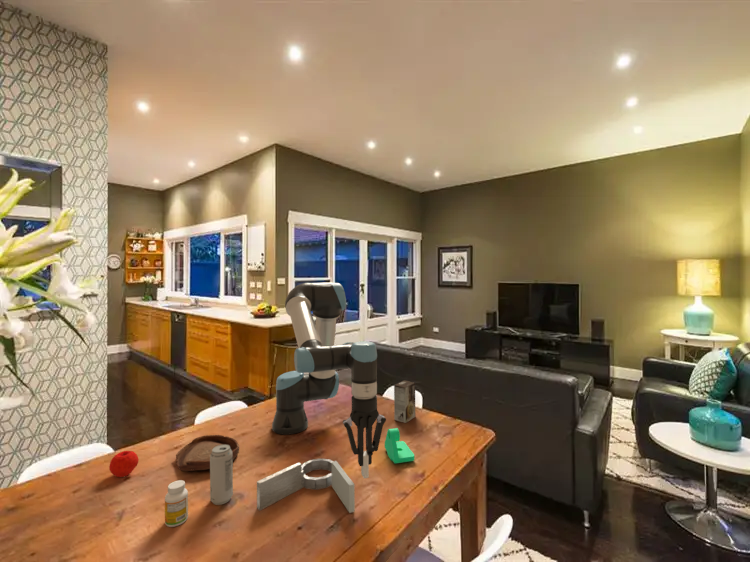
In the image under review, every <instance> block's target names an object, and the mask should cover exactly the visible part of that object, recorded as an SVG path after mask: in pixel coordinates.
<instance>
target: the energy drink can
mask: <svg viewBox="0 0 750 562" xmlns="http://www.w3.org/2000/svg"><path fill="white" fill-rule="evenodd" d="M233 461H234V460H233V455H232V450H231V449H230V446H229V445H226V444H224V445H218V446H216V447H214V448H213V449H212V453H211V455H210V469H209V479H210V480H209V481H210V482H209V486H210V487H209V489H210V490H209V499H210V502H212V504H213V505H216V506H221V505H225V504H226V503H228V502H230V501H231V498H232V497H233V495H234V492H233V491H234V489H233V488H234V486H233V484H234V479H233V475H234V474H233V473H234V472H233V468H234V467H233Z"/></svg>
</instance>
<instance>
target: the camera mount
mask: <svg viewBox="0 0 750 562" xmlns="http://www.w3.org/2000/svg"><path fill="white" fill-rule="evenodd" d="M400 439H401V434H400V430H399V428H398V427H395V428H388V429H387V431H386V435H385V439H384V448H385V451H386V452H387V454H386V455H387V456H388V458H389V459H390V461H391V462H393V464H401V463H407V462H414V461H415V460H416V459H415V453H414V452H413V451H412V450H411V449H410V447H409V446H408V445H407V443H406V442H405V441H403V440H400Z"/></svg>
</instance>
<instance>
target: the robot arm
mask: <svg viewBox="0 0 750 562" xmlns="http://www.w3.org/2000/svg"><path fill="white" fill-rule="evenodd" d="M346 307H347V298H346V292H345V289H344V287H343V285H342V284H341V283H339V282H303V283H300V284H298V285H296V286H294V287H293V288H292V289H291V290H290V291H289V293H288V294H287V296H286V298H285V301H284V308H285V313H287V315H288V316H289V317H290V319H291V320H290V321H291V324H292V328H293V332H294V336H295V339H296V343H297V348H296V349H295V350H294V354H293V356H294V357H293V361H294V370H291V371H287V372H284V373H282V374H280V375H279V376H277V378H276V381H275V384H276V385H275V390H276V394H275V399H276V401H275V403H276V405H275V406H276V408H275V409H276V411H275V414H274V417H273V420H272V425H271V430H272V432H273V433H275V434H277V435H294V434H298V433H301V432H303V431H306V429H307V428H308V426H309V420H308V417H307V414H306V411H305V406H304V405H305V402H312V401H313V402H314V401H321V400H328V399H332V398H335V397H336V396H337V394H338V391H339V388H340V382H339V381H340V378H339V373H338V372H337V371H336V370H346V369H348V370H349V369H350V370H351V380H350V381H351V395H352V396H351V412H350V414H349V417H348V418H347V419H343V420H342V424H343V425H344V426H343V427H345V429H346V431H347V437H348V441H349V445H350V448H351V451H352V453H353V454H354V456H355V455H357V463H358V465H359V467H361V468H360V471H361V473H360V474H361V476H362V477H363V479H368V478H370V477H369V476H370V475H369V471H370V470H369V469H370V468H369V465H372V463H373V462H372V461H373V460H372V457H373V453H374V452H378V450H379V447H380V446H379V445H380V442H381V437H382V436H381V435H382V431H383V427H384V425H385V423H386V421H387V418H386V416H384V414H380V412H379V411H378V396H377V394H378V383H377V382H378V381H377V380H378V378H377V375H378V373H377V370H378V359H377V358H378V351H377V344H376V343H375V342H372V341H365V340H363V341H356V342H351V341H350V342H348V341H347V342H344V343H342V344H335V341H336V339H335V338H336V328H337V327H336V326H337V325H336V324H337V319H338V318H339V317H340V316H341V312H342V311H344V310H346ZM314 318H315V320H314ZM375 422H376V424H375ZM353 423H354V425H355V426H356V428H357V429H356V430H357V434H356V435H357V436H356V437H357V438H356V439H357V445H356V441H355V440H356V439H355V437H354V432H353V429H352V426H353ZM374 424H375V428H374V434H373V425H374ZM364 432H365V438H364ZM364 439H365V445H364ZM364 446H365V450H364Z"/></svg>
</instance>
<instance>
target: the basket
mask: <svg viewBox="0 0 750 562" xmlns="http://www.w3.org/2000/svg"><path fill="white" fill-rule="evenodd" d="M224 444H226V445H229V446H230V449H231V450H232V455H233V461H234V460H235V458H236V457H237V456H238V454H239V451H240V445H239V442H238V441H237V440H236V439H234V438H232V437H229V436H224V435H220V434H209V435H208V434H205V435H202V436H198V437H196V438H193V440H192V441H190V442H189V443H187V444H186V445H185V446H183V447H182V448H181V449H180V450H178V451H177V453H176V455H175V459H176V460H175V463H176V466H177V468H178V469H179V470H180V471H181V472H190V471H206V470H210V455H211V453H212V449H213V448H214V447H216V446H218V445H224Z"/></svg>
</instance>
